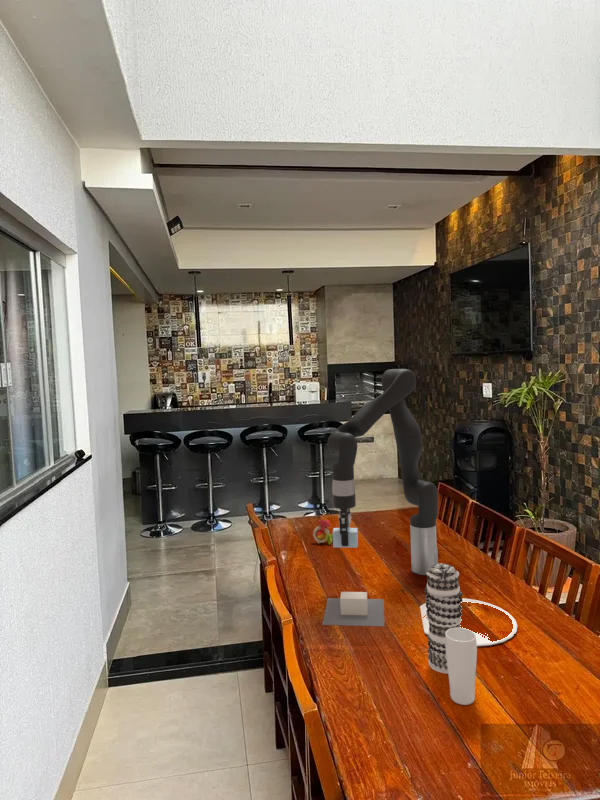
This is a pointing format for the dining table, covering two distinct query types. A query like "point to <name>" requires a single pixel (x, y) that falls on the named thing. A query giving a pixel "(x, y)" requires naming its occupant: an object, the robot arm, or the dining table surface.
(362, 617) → the charcoal baseplate
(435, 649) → the decorative candle
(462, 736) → the dining table surface
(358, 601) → the cream base brick
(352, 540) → the pale blue brick
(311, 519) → the dining table surface
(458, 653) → the drinking glass
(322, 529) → the bird rattle
